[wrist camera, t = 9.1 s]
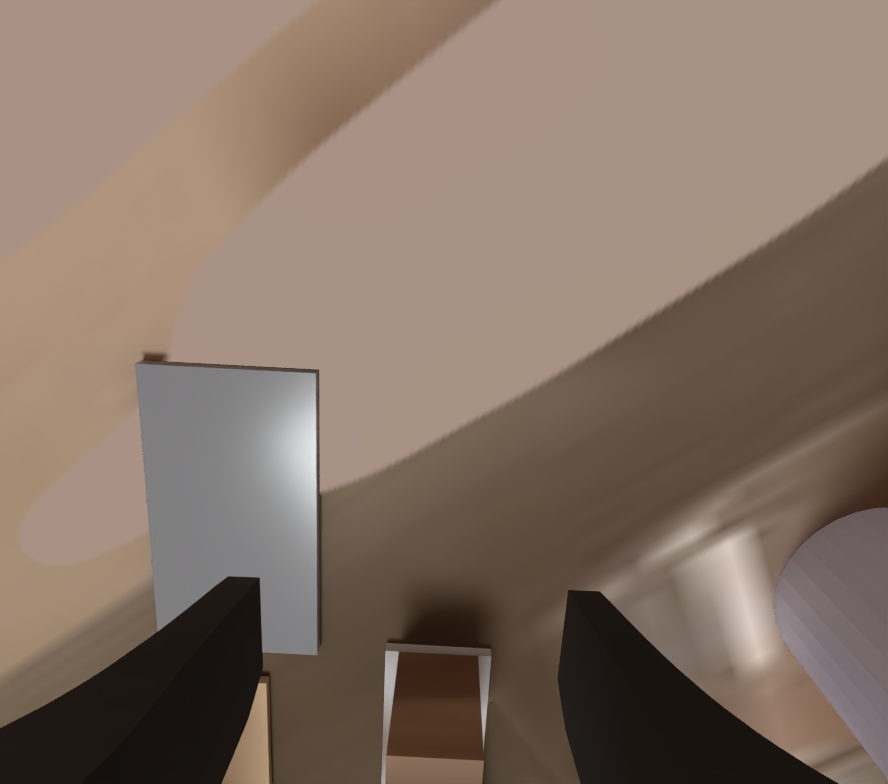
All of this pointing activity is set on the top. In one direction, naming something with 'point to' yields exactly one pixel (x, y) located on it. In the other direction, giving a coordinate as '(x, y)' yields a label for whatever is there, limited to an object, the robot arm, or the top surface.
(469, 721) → the brown and white block
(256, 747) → the cork trivet
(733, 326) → the top surface
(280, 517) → the slate pad
